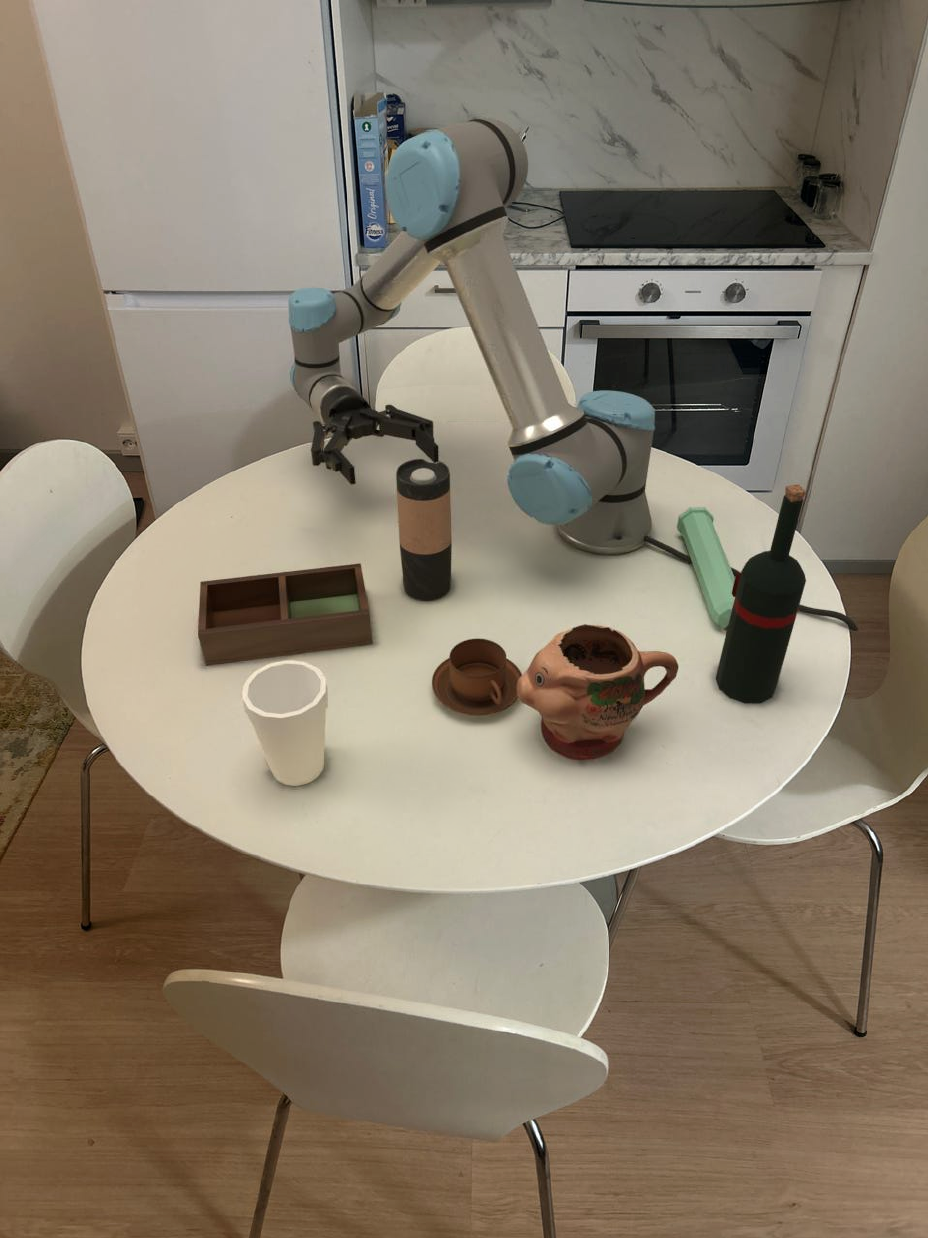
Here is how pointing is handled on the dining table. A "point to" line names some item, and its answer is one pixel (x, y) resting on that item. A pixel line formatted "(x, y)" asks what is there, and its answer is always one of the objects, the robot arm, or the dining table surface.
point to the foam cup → (289, 718)
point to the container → (708, 562)
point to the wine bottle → (763, 612)
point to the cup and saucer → (476, 679)
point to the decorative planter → (590, 689)
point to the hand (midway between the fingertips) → (395, 465)
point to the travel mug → (425, 528)
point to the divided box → (283, 614)
